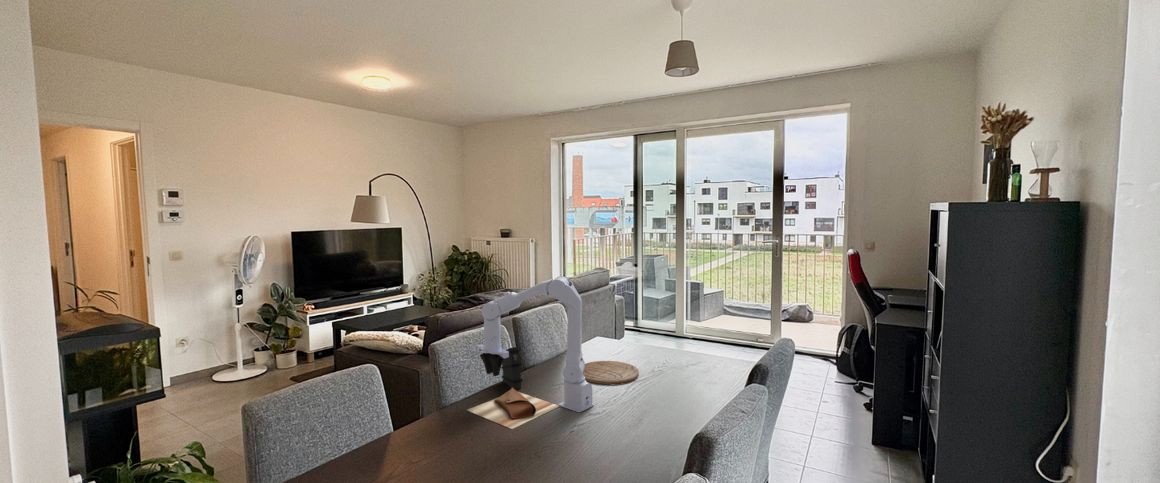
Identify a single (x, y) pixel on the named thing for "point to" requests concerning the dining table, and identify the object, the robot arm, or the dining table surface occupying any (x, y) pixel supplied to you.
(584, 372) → the trivet
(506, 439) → the dining table surface
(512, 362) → the black angular block
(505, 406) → the sunglasses case
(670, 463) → the dining table surface
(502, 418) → the beige flat square sheet
